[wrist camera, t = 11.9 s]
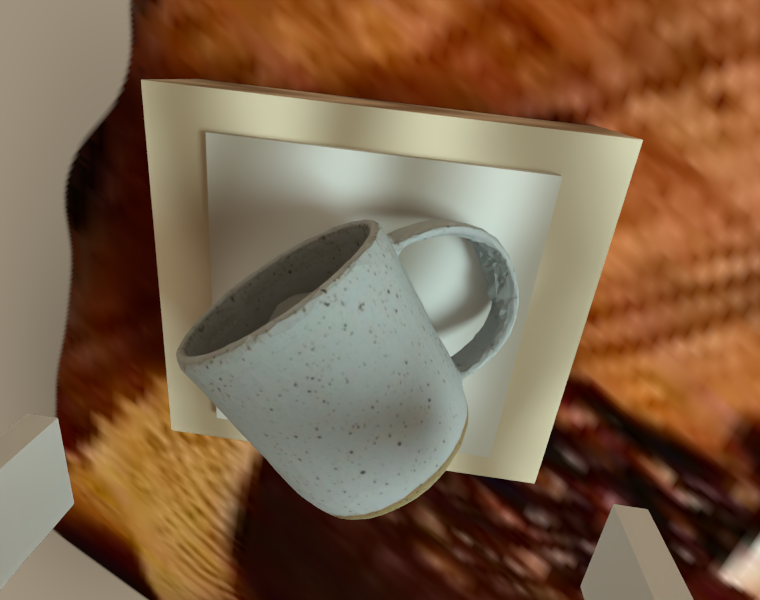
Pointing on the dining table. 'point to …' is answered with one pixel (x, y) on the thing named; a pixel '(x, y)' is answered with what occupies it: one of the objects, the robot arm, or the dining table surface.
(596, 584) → the robot arm
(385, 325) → the ceramic mug
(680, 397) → the dining table surface
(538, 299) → the cream flat rectangular piece
